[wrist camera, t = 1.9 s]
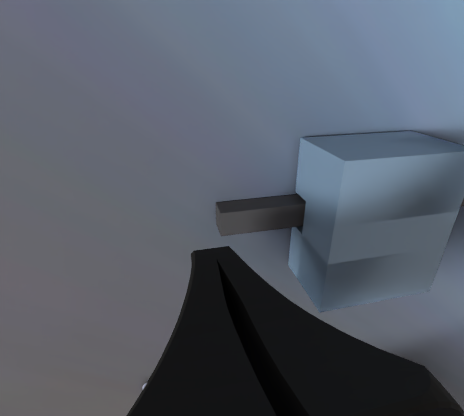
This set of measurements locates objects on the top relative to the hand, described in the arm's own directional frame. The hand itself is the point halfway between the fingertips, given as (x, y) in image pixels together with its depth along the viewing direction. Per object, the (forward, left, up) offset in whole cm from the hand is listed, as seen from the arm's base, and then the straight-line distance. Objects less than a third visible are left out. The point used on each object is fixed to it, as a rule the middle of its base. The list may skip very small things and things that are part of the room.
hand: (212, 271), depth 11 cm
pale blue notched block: (0, -8, -5) cm, 9 cm away
